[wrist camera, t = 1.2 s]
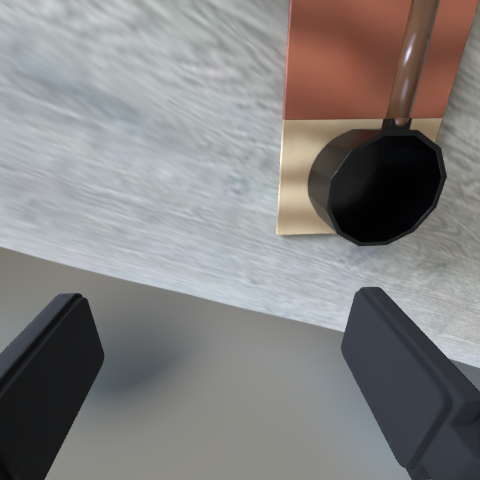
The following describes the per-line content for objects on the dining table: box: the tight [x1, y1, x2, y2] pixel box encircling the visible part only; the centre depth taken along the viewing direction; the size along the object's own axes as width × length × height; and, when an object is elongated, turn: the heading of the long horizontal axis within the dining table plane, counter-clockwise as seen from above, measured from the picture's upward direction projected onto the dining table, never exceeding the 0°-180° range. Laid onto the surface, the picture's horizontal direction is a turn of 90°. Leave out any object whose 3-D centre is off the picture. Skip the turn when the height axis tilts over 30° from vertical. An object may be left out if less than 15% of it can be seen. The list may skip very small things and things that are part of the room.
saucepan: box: [308, 0, 447, 246], centre depth 26 cm, size 23×12×7 cm, turn 1°
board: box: [276, 0, 479, 235], centre depth 29 cm, size 29×19×1 cm, turn 1°
